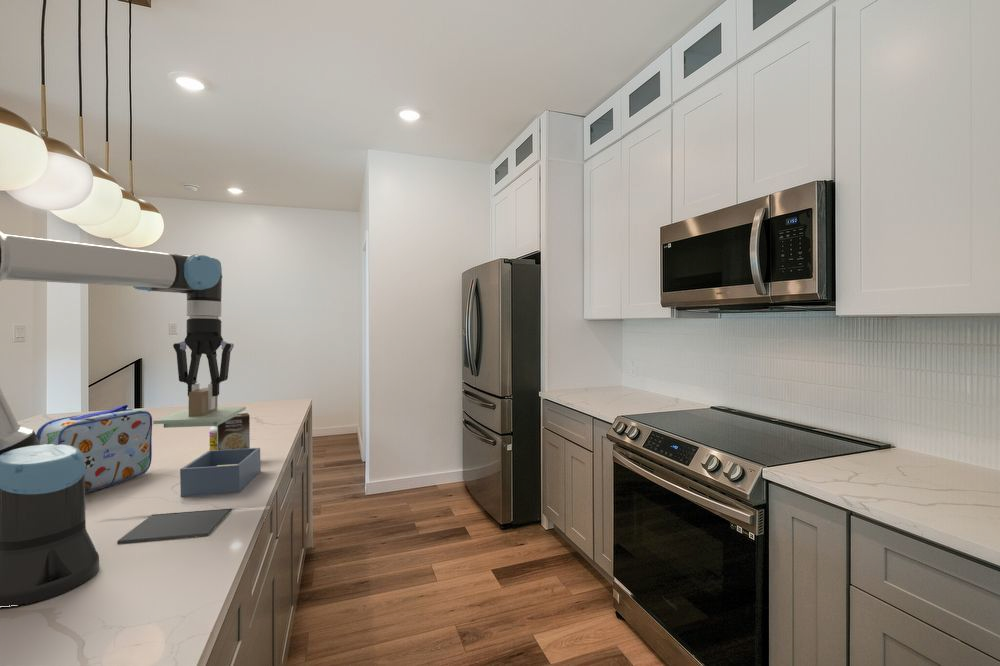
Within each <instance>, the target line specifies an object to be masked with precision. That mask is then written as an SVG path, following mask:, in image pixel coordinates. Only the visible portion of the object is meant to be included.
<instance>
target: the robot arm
mask: <svg viewBox="0 0 1000 666" xmlns="http://www.w3.org/2000/svg"><path fill="white" fill-rule="evenodd" d="M222 268H223V267H222V263H221V261H220V260H219V259H218V258H214V257H210V256H208V255H205V254H203V255H202V254H192V255H185V254H184V255H183V254H176V253H166V252H158V251H150V250H143V249H142V250H141V249H133V248H125V247H116V246H109V245H107V246H106V245H98V244H90V243H82V242H81V243H80V242H72V241H64V240H55V239H47V238H39V237H38V238H37V237H31V236H30V237H29V236H21V235H12V234H6V233H5V234H4V233H3V232H2V231H0V282H2V281H3V280H7V281H25V282H26V281H27V282H45V283H46V282H47V283H61V284H62V283H63V284H65V283H66V284H83V285H98V286H99V285H102V286H119V287H120V286H121V287H122V286H123V287H133V288H134V289H135V290H139V291H147V292H161V293H174V294H175V293H176V294H177V293H178V294H186V316H187V317H189V318H187V319H186V336H185V338H184V340H183V341H181V342H175V343H173V344H172V347H173V349H174V351H175V353H176V363H177V373H178V374H177V375H178V381H179V382H180V383H185V384H186V385H187V397H188V398H189V392H192V391H195V390H199V389H200V383H198V380H197V378H198V374H199V372H198V371H199V369H200V362H201V357H202V356H203V355H205V356H206V358H207V364H208V368H209V374H210V383H208V384H207V388H208V410H212V409H214V408H215V396H219V395H220V384H221V383H222V382H225V381H227V380H228V378H229V370H230V369H229V368H230V362H231V361H230V360H231V352H232V350H233V348H234V346H235V345H234V343H231V342H230V343H229V342H228V341H224V338H223V337H222V320H221V319H220V317H222V289H223V287H222V285H223V284H222V282H223V273H222V271H223V269H222ZM187 347H188V348H189V349H190V351H191V352H190V353H191V354H190V364H189V369H188V361H187V360H188V359H187V351H186V349H187ZM220 347H221V350H222V352H221V360H220V361H221V362H220V369H219V365H218V364H219V363H218V359H217V355H218V354H217V351H218V349H219V348H220ZM17 421H18V420H17V419H16V416H15V415H14V413H13V411H12V409H11V407H10V405H9V402H8V401H7V398H6V397H5V395H4V393H3V391H2V389H1V388H0V606H9V605H10V606H11V605H21V606H23V605H22V604H26V605H29V604H28V603H30V604H34V603H37V602H36V601H38V602H41V601H44V600H45V601H46V600H47V599H50V598H54V597H56V596H59V595H62V594H64V593H66V592H69V591H71V590H73V589H75V588H77V587H79V586H80V585H83V584H84V583H86V582H87V581H89V580H90V579H92V578H93V577H94V576H95V575H96V574H97V573H98V572H99V570H100V555H99V553H98V551H97V549H96V547H95V544H94V543H93V541H92V539H91V537H90V535H89V532H88V531H87V527H86V526H87V523H86V517H87V516H86V493H85V471H86V465H85V462H84V457H83V453H82V452H81V451H80V450H79V449H78V448H76V447H73V446H69V445H62V444H61V445H55V444H44V445H41V444H40V442H39V440H38V438H37V436H36V432H35V430H34V429H33V428H32V427H28V426H24V425H21V424H18V422H17ZM33 602H34V603H33Z"/></svg>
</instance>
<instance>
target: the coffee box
mask: <svg viewBox="0 0 1000 666" xmlns="http://www.w3.org/2000/svg"><path fill="white" fill-rule="evenodd" d="M250 419H251V417H250V414H249V413H248V412H246V413H245V412H243V413H242V412H240V413H238V415H237V416H235V417H233V418H231V419H229V420H227V421H225V422H223V423H221V424H220V425H218V426H217V450H227V449H246V448H251V447H250V443H251V442H250V437H251V436H250V423H251V422H250Z"/></svg>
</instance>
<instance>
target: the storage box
mask: <svg viewBox="0 0 1000 666" xmlns="http://www.w3.org/2000/svg"><path fill="white" fill-rule="evenodd" d="M232 464H237V465H232ZM217 465H228V466H217ZM260 473H261V447H250V448H246V449H227V450H210V449H209V450H208V451H206V452H204V453H203V454H202V455H200V456H198V457H197V458H195V459H194V460H192V461H190V462H189V463H188V464H186V465H184V466H182V467H181V468H180V469H179V476H180V481H179V482H180V498H185V497H186V498H187V497H201V496H212V495H214V496H215V495H227V494H239V493H240V494H241V492H242V491H243V490H244V489H245V488H246V487H247V486H248V485H249V484H250V483H251V482H252V481H253V480H254V478H256V477H257V476H258V475H259V474H260Z"/></svg>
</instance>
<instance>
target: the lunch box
mask: <svg viewBox="0 0 1000 666" xmlns="http://www.w3.org/2000/svg"><path fill="white" fill-rule="evenodd" d="M128 407H129V406H128V404H125V405H120V406H117V407H116V408H112V409H107V410H103V411H98V412H92V413H86V414H80V415H73V416H67V417H62V418H57V419H53V420H50V421H48V422H46V423H44V424H43V425H41V426H40V427H39V428H38V429H37V431H36V432H35V434H36V436H37V438H38V440H39V442H40V444H41V445H44V444H55V445H61V444H62V445H69V446H73V447H76V448H78V449H79V450H80V451H81V452H82V453H83V457H84V462H85V465H86V471H85V494H88V493H90V492H94V491H97V490H101V489H104V488H108V487H110V486H111V487H112V486H114V485H115V484H119V483H122V482H125V481H127V480H130V479H132V478H136V477H138V476H141V475H144V474H146V472H148V470H149V468H150V467H151V464H152V458H153V456H152V455H153V449H152V448H153V447H152V446H153V445H152V444H153V443H152V436H153V434H152V433H153V416H152V414H151V413H150V412H149V411H147V410H143V409H133V408H128Z"/></svg>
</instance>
